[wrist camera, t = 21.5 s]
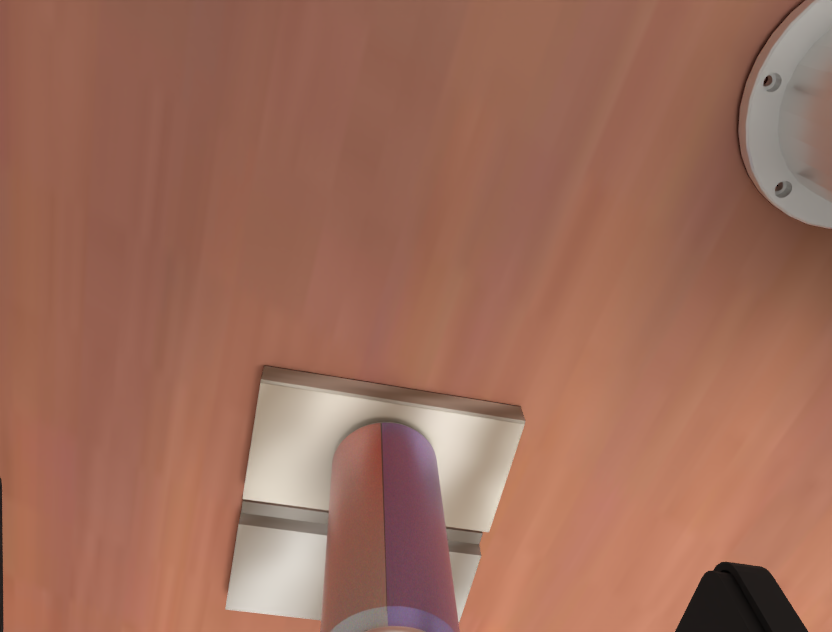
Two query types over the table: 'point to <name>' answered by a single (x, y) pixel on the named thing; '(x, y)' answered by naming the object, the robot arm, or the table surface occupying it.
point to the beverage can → (387, 536)
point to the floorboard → (309, 560)
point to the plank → (365, 404)
